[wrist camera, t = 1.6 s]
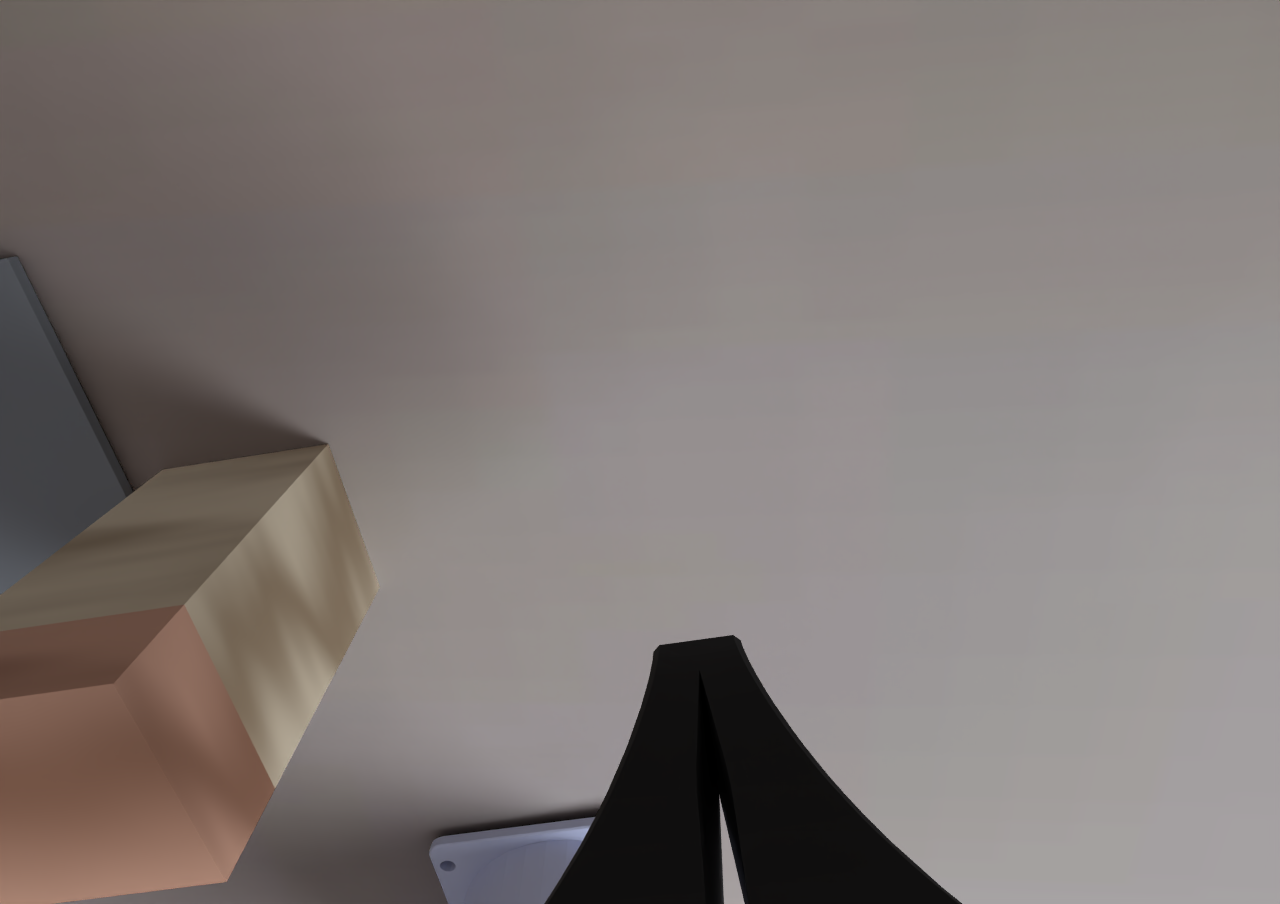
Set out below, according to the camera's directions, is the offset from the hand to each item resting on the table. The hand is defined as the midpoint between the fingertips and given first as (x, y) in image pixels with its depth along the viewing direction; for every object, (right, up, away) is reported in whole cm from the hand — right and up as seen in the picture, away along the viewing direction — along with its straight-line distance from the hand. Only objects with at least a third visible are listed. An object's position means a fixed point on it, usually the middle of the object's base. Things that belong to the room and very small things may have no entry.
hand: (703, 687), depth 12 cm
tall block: (-11, +2, +8) cm, 14 cm away
